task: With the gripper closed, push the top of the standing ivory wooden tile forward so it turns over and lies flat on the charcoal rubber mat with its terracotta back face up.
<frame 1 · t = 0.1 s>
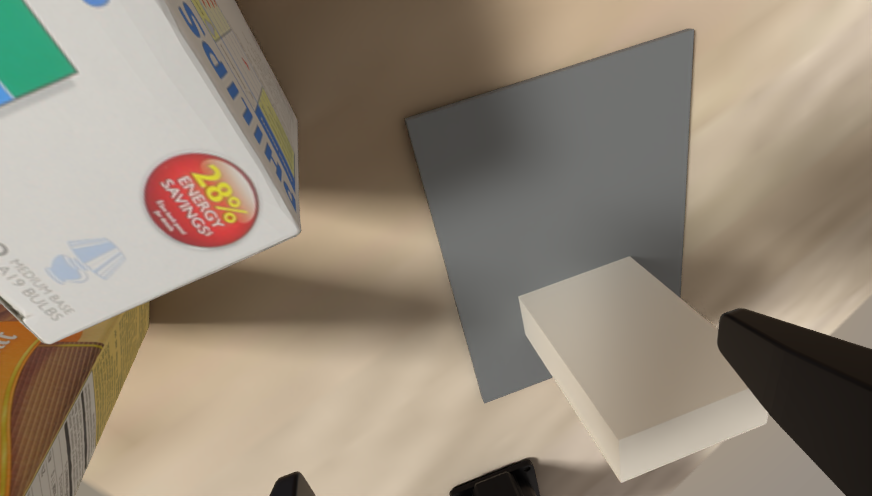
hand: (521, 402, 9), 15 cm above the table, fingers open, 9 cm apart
ivory tile: (576, 296, 28), resting on rubber mat
rubber mat: (568, 244, 27), on the table
light bulb box: (150, 24, 17), on the table
candy box: (38, 276, 20), on the table
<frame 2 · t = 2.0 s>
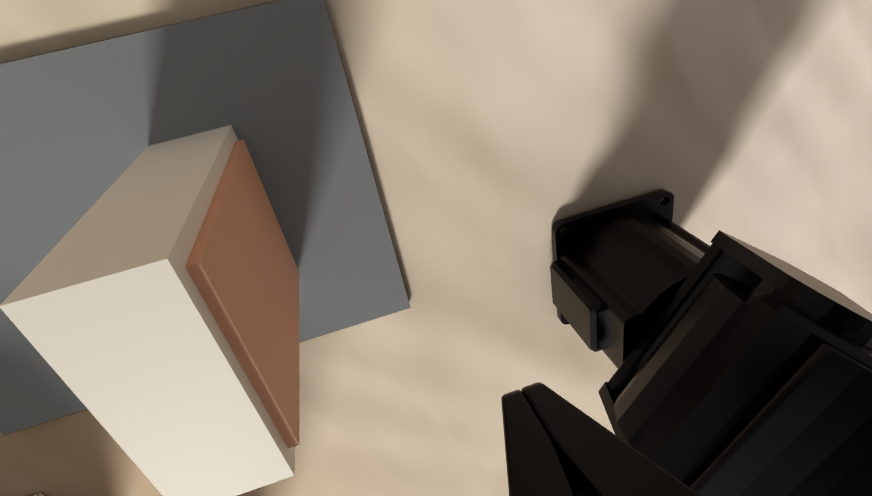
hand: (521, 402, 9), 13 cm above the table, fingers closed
ivory tile: (229, 218, 19), resting on rubber mat
rubber mat: (143, 238, 19), on the table
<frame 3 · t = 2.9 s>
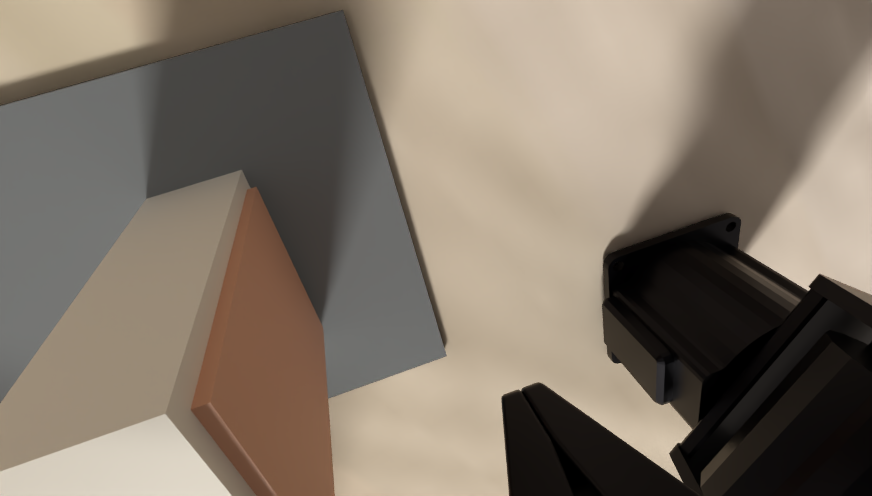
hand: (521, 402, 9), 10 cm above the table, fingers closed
ivory tile: (243, 273, 17), resting on rubber mat
rubber mat: (146, 299, 17), on the table
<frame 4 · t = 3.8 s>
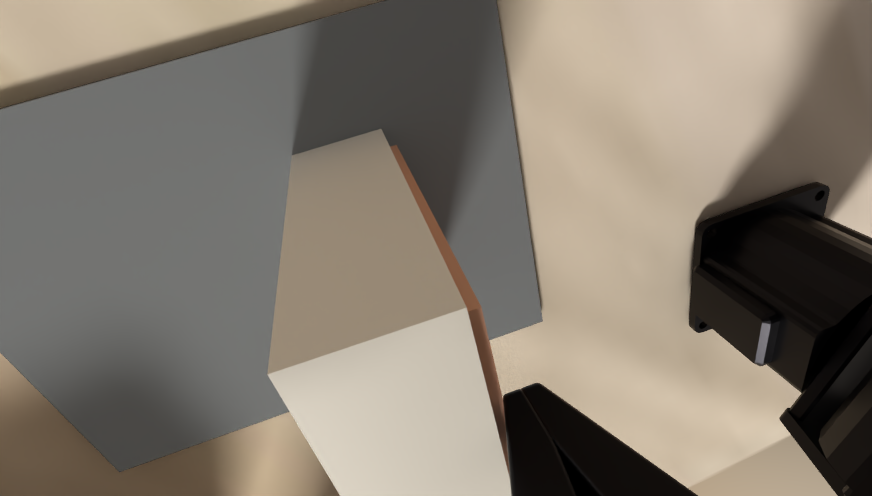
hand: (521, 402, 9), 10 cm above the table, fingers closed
ivory tile: (369, 232, 17), resting on rubber mat, touching gripper
rubber mat: (275, 257, 17), on the table
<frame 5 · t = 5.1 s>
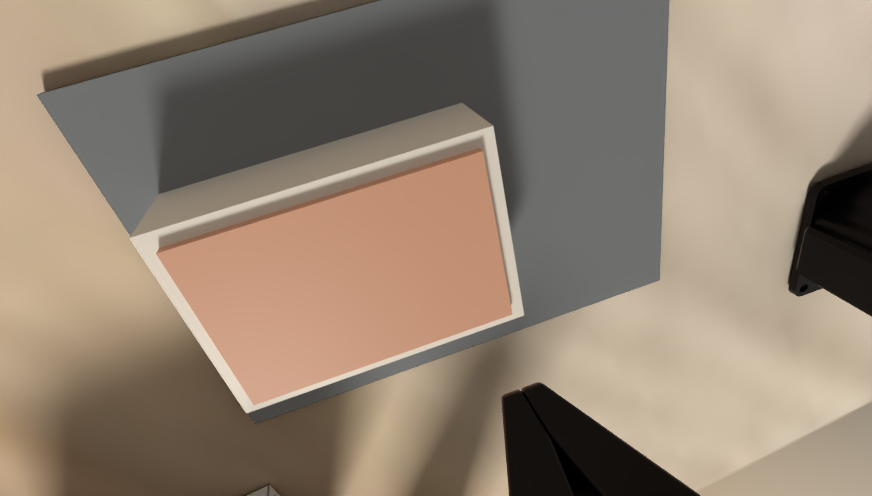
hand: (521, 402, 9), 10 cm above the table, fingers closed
ivory tile: (494, 212, 16), point 2 cm above the table, tilted 90°, touching rubber mat
rubber mat: (428, 207, 18), on the table
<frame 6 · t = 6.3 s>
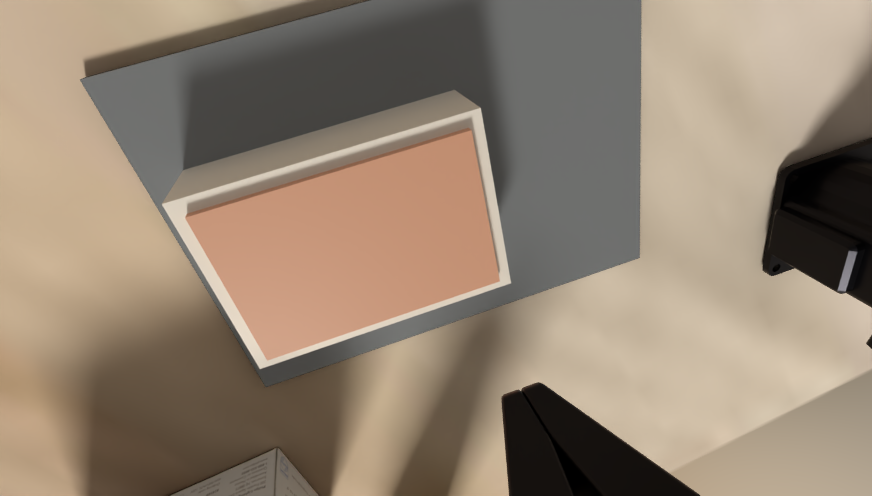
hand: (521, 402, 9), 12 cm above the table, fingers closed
ivory tile: (483, 189, 18), point 2 cm above the table, tilted 90°, touching rubber mat
rubber mat: (424, 186, 19), on the table
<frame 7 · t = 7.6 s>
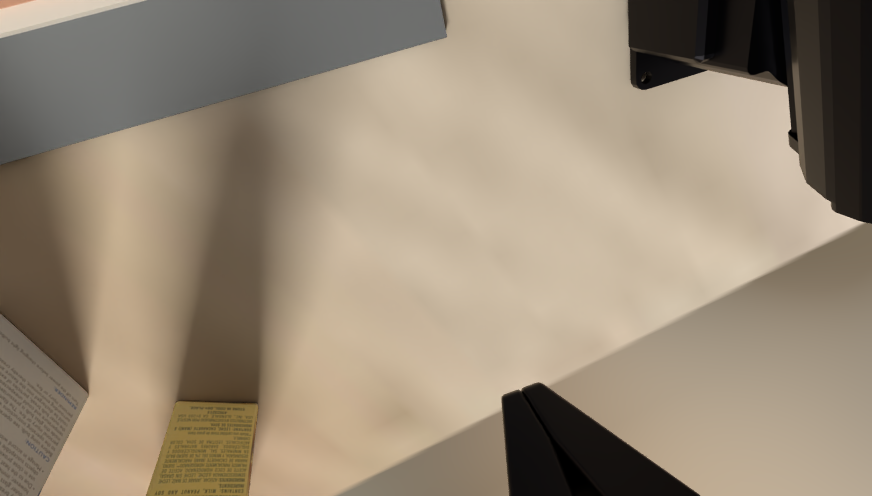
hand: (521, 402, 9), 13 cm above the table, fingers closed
candy box: (209, 456, 26), on the table
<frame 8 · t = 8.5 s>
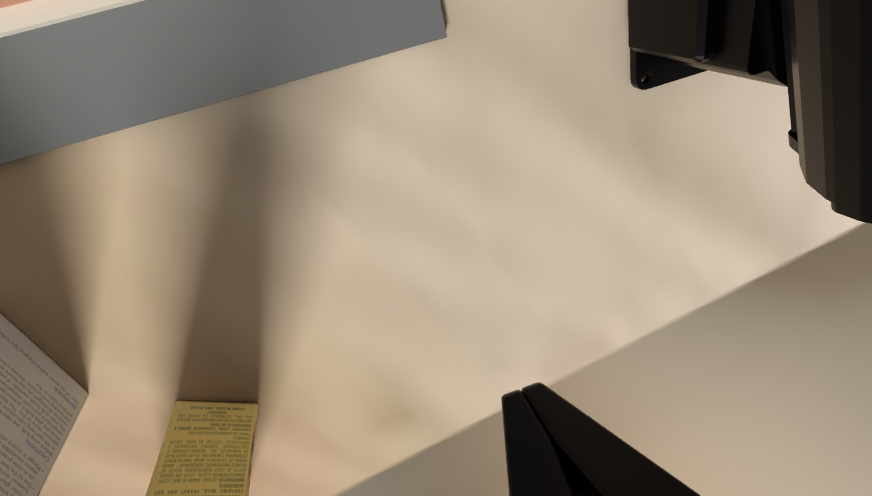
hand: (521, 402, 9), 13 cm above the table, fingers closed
candy box: (209, 455, 26), on the table
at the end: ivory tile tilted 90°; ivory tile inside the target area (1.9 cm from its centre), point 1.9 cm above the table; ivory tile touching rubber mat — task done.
